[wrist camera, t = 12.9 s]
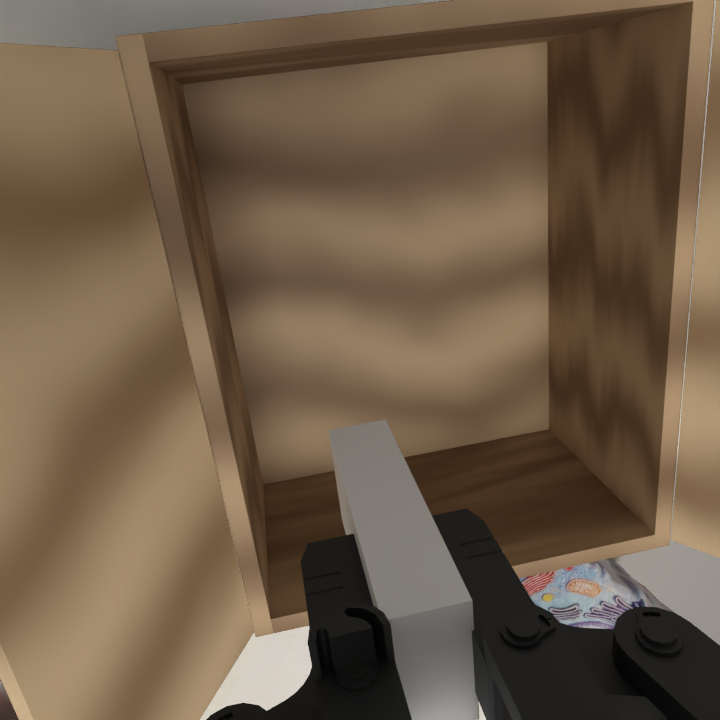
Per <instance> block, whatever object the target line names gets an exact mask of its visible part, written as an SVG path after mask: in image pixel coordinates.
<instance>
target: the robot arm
mask: <svg viewBox="0 0 720 720" xmlns="http://www.w3.org/2000/svg"><path fill="white" fill-rule="evenodd" d="M328 431H329V437H330V444H331V450H332V457H333V464H334V470H335V477H336V483H337V490H338V497H339V503H340V510H341V516H342V521H343V525H344V529H345V533H346V535H345V536H340V537H335V538H330V539H325V540H321V541H316V542H311V543H308V545H307V547H306V549H305V552H304V554H303V557H302V559H301V568H302V575H303V582H304V590H305V597H306V605H307V612H308V620H309V627H310V629H309V637H308V646H309V651H310V656H311V662H312V669H311V672H310V675H309V676H308V678H307V680H306V681H305V683H304V685H303V686H302V687H301V688H300V689H299V690H298V691H297V692H296V693H295V694H294V695H292V696H291V697H289V698H288V699H287V700H285V701H284V702H282V703H280V704H278V705H277V706H275V707H273V708H271V709H270V710H268V711H266V710H264V709H263V708H262V707H260V706H259V705H253V704H247V703H241V704H236V705H231V706H227V707H225V708H223V709H221V710H219V711H217V712H216V713H214V714H212V715H211V716H210V717H209V718H208V719H207V720H477V719H479V705H478V700H479V702H480V705H481V707H482V710H483V712H484V715H485V717H486V720H720V645H718V644H717V643H716V642H714V641H713V640H712V639H710V638H709V637H708V636H707V635H706V634H704V633H703V632H701V631H700V630H699V629H698V628H697V627H695V626H694V625H693V624H692V623H690V622H689V621H687V620H686V619H684V618H682V617H681V616H679V615H677V614H676V613H674V612H671V611H668V610H664V609H661V608H658V607H642V606H640V607H636V608H633V609H629V610H626V611H625V612H624V613H622V614H621V615H620V616H619V617H618V618H617V620H616V623H615V626H614V629H599V628H582V627H574V626H569V625H566V624H563V623H560V622H559V621H558V620H557V619H556V618H555V617H554V616H553V614H552V613H551V612H549V611H547V610H545V609H543V608H541V607H540V606H538V605H535V603H534V602H533V601H532V599H531V597H530V596H529V594H528V593H527V591H526V589H525V588H524V586H523V584H522V583H521V581H520V579H519V578H518V576H517V574H516V573H515V571H514V569H513V568H512V566H511V564H510V563H509V561H508V559H507V558H506V556H505V554H504V553H502V549H501V548H500V546H499V544H498V543H497V541H496V540H494V536H493V535H492V533H491V531H490V530H489V528H488V526H487V525H486V523H485V521H484V520H482V519H481V518H480V517H478V516H477V515H475V514H474V513H472V512H471V511H469V510H468V509H467V508H466V509H462V510H457V511H452V512H447V513H442V514H438V515H433V516H432V515H431V513H430V511H429V509H428V507H427V505H426V503H425V501H424V499H423V496H422V494H421V492H420V490H419V488H418V486H417V484H416V482H415V480H414V478H413V476H412V474H411V471H410V469H409V467H408V465H407V463H406V461H405V459H404V457H403V455H402V453H401V451H400V449H399V446H398V444H397V442H396V440H395V438H394V436H393V434H392V432H391V430H390V428H389V426H388V423H387V421H386V419H385V420H380V421H375V422H369V423H364V424H359V425H353V426H348V427H343V428H337V429H332V430H328Z"/></svg>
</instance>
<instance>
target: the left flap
mask: <svg viewBox="0 0 720 720" xmlns="http://www.w3.org/2000/svg"><path fill="white" fill-rule="evenodd" d="M253 633H254V629H253V625H252V621H251V617H250V612H249V608H248V604H247V600H246V595H245V591H244V587H243V582H242V578H241V574H240V570H239V565H238V561H237V557H236V553H235V548H234V544H233V540H232V536H231V531H230V527H229V523H228V518H227V514H226V510H225V506H224V501H223V497H222V493H221V489H220V484H219V480H218V476H217V472H216V467H215V463H214V459H213V454H212V450H211V446H210V442H209V437H208V433H207V429H206V425H205V420H204V416H203V412H202V407H201V403H200V399H199V395H198V390H197V386H196V382H195V378H194V373H193V369H192V365H191V361H190V356H189V352H188V348H187V343H186V339H185V335H184V331H183V326H182V322H181V318H180V314H179V309H178V305H177V301H176V297H175V292H174V288H173V284H172V279H171V275H170V271H169V267H168V262H167V258H166V254H165V250H164V245H163V241H162V237H161V233H160V228H159V224H158V220H157V215H156V211H155V207H154V203H153V198H152V194H151V190H150V186H149V181H148V177H147V173H146V169H145V164H144V160H143V156H142V151H141V147H140V143H139V139H138V134H137V130H136V126H135V122H134V117H133V113H132V109H131V105H130V100H129V96H128V92H127V87H126V83H125V79H124V75H123V70H122V66H121V62H120V58H119V53H118V50H103V49H87V48H71V47H56V46H40V45H25V44H9V43H0V679H1V681H2V683H3V685H4V688H5V690H6V692H7V694H8V697H9V699H10V701H11V703H12V705H13V708H14V710H15V712H16V714H17V717H18V719H19V720H200V718H201V717H202V715H203V713H204V712H205V710H206V709H207V707H208V705H209V704H210V702H211V700H212V699H213V697H214V696H215V694H216V692H217V691H218V689H219V688H220V686H221V684H222V683H223V681H224V680H225V678H226V676H227V675H228V673H229V672H230V670H231V668H232V667H233V665H234V664H235V662H236V660H237V659H238V657H239V655H240V654H241V652H242V651H243V649H244V647H245V646H246V644H247V643H248V641H249V639H250V638H251V636H252V635H253Z"/></svg>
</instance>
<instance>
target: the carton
mask: <svg viewBox="0 0 720 720" xmlns="http://www.w3.org/2000/svg"><path fill="white" fill-rule="evenodd" d="M713 11H714V0H452V1H443V2H433V3H424V4H414V5H405V6H396V7H386V8H377V9H367V10H358V11H348V12H339V13H330V14H320V15H311V16H301V17H292V18H282V19H273V20H264V21H254V22H245V23H235V24H226V25H216V26H207V27H198V28H188V29H179V30H169V31H160V32H150V33H141V34H132V35H122V36H115V38H116V43H117V47H118V51H119V55H120V60H121V64H122V68H123V72H124V77H125V81H126V85H127V90H128V94H129V98H130V102H131V107H132V111H133V115H134V119H135V124H136V128H137V132H138V137H139V141H140V145H141V149H142V154H143V158H144V162H145V166H146V171H147V175H148V179H149V184H150V188H151V192H152V196H153V201H154V205H155V209H156V213H157V218H158V222H159V226H160V230H161V235H162V239H163V243H164V248H165V252H166V256H167V260H168V265H169V269H170V273H171V277H172V282H173V286H174V290H175V295H176V299H177V303H178V307H179V312H180V316H181V320H182V324H183V329H184V333H185V337H186V342H187V346H188V350H189V354H190V359H191V363H192V367H193V371H194V376H195V380H196V384H197V389H198V393H199V397H200V401H201V406H202V410H203V414H204V418H205V423H206V427H207V431H208V436H209V440H210V444H211V448H212V453H213V457H214V461H215V465H216V470H217V474H218V478H219V483H220V487H221V491H222V495H223V500H224V504H225V508H226V512H227V517H228V521H229V525H230V530H231V534H232V538H233V542H234V547H235V551H236V555H237V559H238V564H239V568H240V572H241V577H242V581H243V585H244V589H245V594H246V598H247V602H248V606H249V611H250V615H251V619H252V624H253V628H254V632H255V636H256V637H259V636H263V635H268V634H272V633H277V632H281V631H286V630H290V629H295V628H299V627H304V626H308V625H309V620H308V612H307V605H306V597H305V590H304V582H303V575H302V568H301V559H302V557H303V554H304V552H305V549H306V547H307V545H308V543H311V542H316V541H321V540H325V539H330V538H335V537H340V536H345V535H346V533H345V529H344V525H343V521H342V516H341V510H340V503H339V497H338V490H337V483H336V477H335V470H334V464H333V457H332V450H331V444H330V437H329V431H328V430H332V429H337V428H343V427H348V426H353V425H359V424H364V423H369V422H375V421H380V420H385V419H386V421H387V423H388V426H389V428H390V430H391V432H392V434H393V436H394V438H395V440H396V442H397V444H398V446H399V449H400V451H401V453H402V455H403V457H404V459H405V461H406V463H407V465H408V467H409V469H410V471H411V474H412V476H413V478H414V480H415V482H416V484H417V486H418V488H419V490H420V492H421V494H422V496H423V499H424V501H425V503H426V505H427V507H428V509H429V511H430V513H431V515H432V516H433V515H438V514H442V513H447V512H452V511H457V510H462V509H466V508H467V509H468V510H469V511H471V512H472V513H474V514H475V515H477V516H478V517H480V518H481V519H482V520H484V521H485V523H486V525H487V526H488V528H489V530H490V531H491V533H492V535H493V536H494V540H496V541H497V543H498V544H499V546H500V548H501V549H502V553H504V554H505V556H506V558H507V559H508V561H509V563H510V564H511V566H512V568H513V569H514V571H515V573H516V574H517V576H518V578H524V577H528V576H533V575H537V574H542V573H546V572H551V571H555V570H560V569H564V568H569V567H573V566H578V565H582V564H587V563H591V562H596V561H600V560H605V559H609V558H614V557H618V556H623V555H627V554H632V553H636V552H640V551H645V550H649V549H654V548H658V547H663V546H667V545H669V542H670V530H671V518H672V505H673V494H674V481H675V470H676V458H677V446H678V434H679V421H680V409H681V397H682V385H683V373H684V361H685V349H686V337H687V325H688V313H689V301H690V289H691V277H692V264H693V252H694V240H695V228H696V216H697V204H698V192H699V180H700V168H701V156H702V144H703V132H704V120H705V107H706V95H707V83H708V71H709V59H710V47H711V35H712V23H713Z"/></svg>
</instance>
